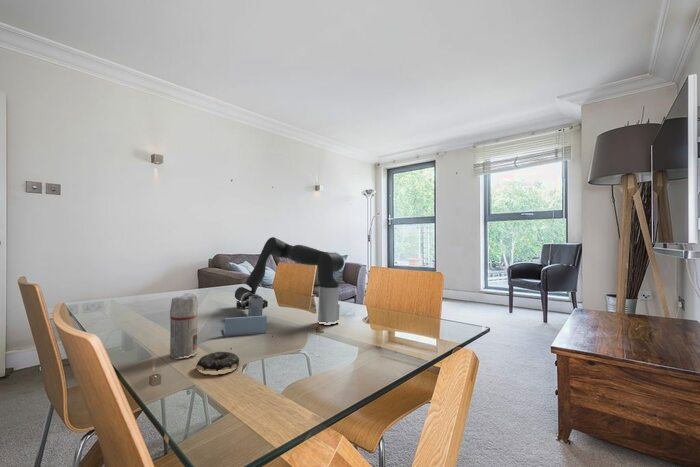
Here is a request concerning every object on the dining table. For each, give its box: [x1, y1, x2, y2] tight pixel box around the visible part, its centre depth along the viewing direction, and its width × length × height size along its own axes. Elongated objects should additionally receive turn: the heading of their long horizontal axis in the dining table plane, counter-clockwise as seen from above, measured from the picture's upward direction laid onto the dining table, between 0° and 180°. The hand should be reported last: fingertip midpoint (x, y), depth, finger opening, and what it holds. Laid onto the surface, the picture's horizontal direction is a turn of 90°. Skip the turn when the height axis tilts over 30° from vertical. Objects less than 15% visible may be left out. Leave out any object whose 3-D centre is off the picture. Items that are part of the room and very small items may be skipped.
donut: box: [195, 351, 240, 371], centre depth 99 cm, size 11×12×4 cm
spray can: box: [169, 292, 199, 360], centre depth 108 cm, size 8×8×20 cm
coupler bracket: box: [222, 315, 268, 337], centre depth 138 cm, size 16×10×7 cm, turn 115°
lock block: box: [247, 293, 264, 317], centre depth 150 cm, size 5×7×13 cm
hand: (254, 306), depth 153 cm, fingers open, 8 cm apart
